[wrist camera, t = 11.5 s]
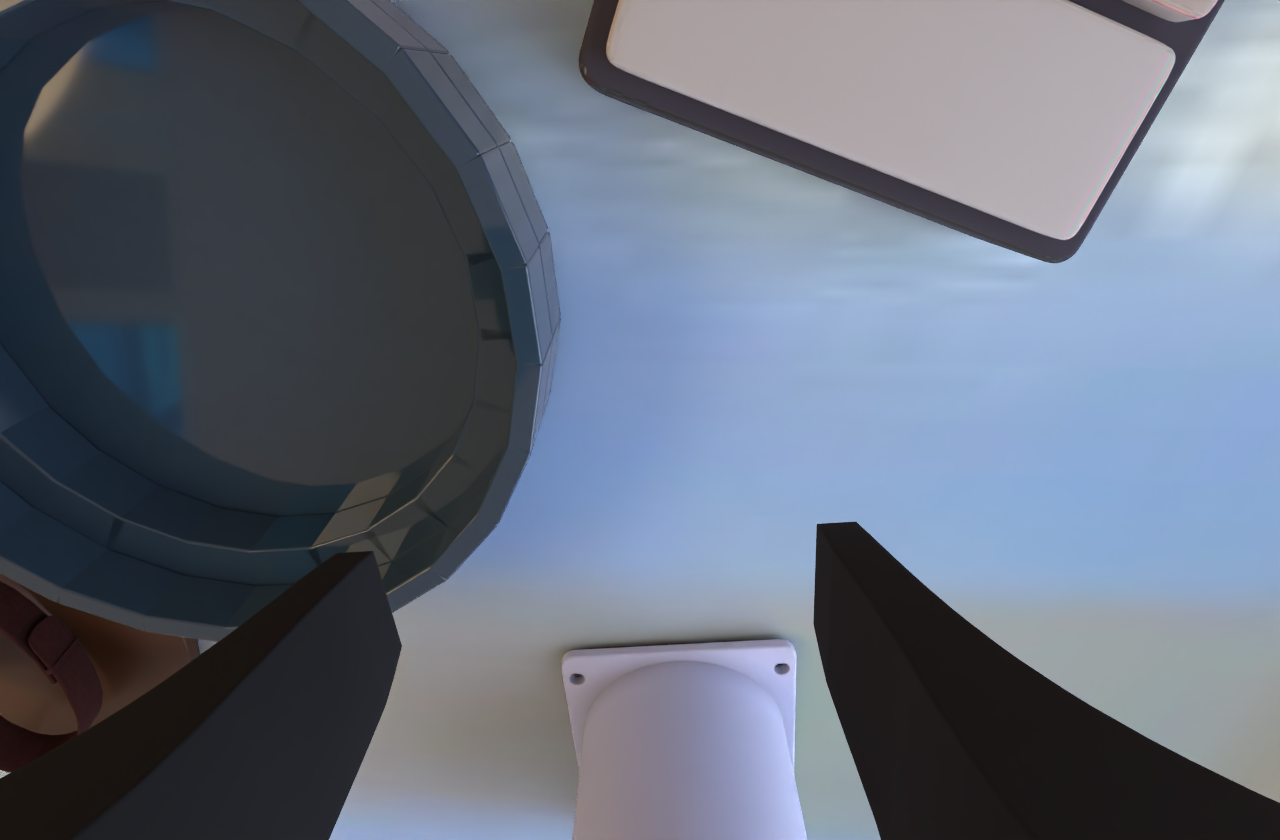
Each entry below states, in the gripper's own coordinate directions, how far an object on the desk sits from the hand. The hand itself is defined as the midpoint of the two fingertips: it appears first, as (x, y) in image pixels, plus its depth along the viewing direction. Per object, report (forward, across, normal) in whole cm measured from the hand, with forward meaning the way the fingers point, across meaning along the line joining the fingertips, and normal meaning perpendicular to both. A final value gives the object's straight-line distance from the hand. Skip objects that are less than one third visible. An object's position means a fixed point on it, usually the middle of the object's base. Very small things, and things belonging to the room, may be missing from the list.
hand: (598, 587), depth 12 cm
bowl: (+9, +10, -3) cm, 14 cm away
